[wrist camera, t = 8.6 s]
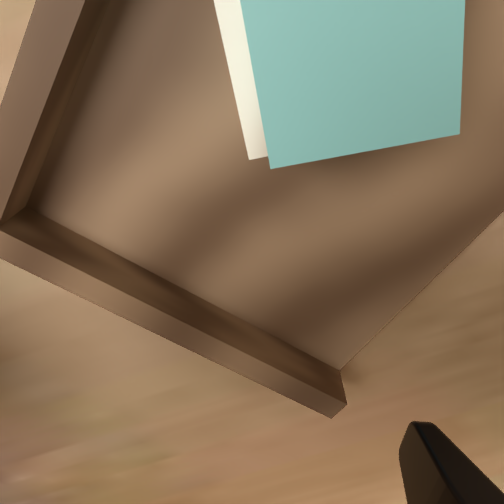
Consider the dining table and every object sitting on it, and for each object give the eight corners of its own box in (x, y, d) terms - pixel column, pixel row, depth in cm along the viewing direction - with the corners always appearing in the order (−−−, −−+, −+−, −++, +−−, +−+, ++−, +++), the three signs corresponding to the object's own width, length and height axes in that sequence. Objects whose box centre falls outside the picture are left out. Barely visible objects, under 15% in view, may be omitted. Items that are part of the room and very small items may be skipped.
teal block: (267, 128, 16) (270, 169, 11) (240, -28, 13) (230, -51, 9) (402, 101, 15) (459, 133, 11) (399, -65, 13) (469, -109, 9)
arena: (-1, 206, 19) (-44, 237, 16) (198, -320, 11) (179, -426, 8) (323, 373, 23) (331, 418, 20) (620, 77, 16) (692, 89, 13)
